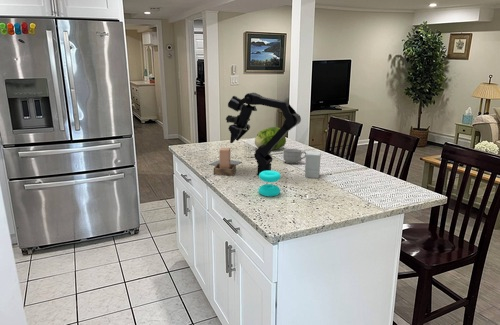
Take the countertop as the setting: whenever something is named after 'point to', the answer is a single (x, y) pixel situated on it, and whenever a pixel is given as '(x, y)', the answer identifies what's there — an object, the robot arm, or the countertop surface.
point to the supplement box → (312, 164)
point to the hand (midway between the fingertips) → (233, 141)
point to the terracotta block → (225, 158)
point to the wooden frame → (225, 170)
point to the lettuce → (269, 137)
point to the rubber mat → (230, 162)
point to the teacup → (293, 155)
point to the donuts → (269, 188)
